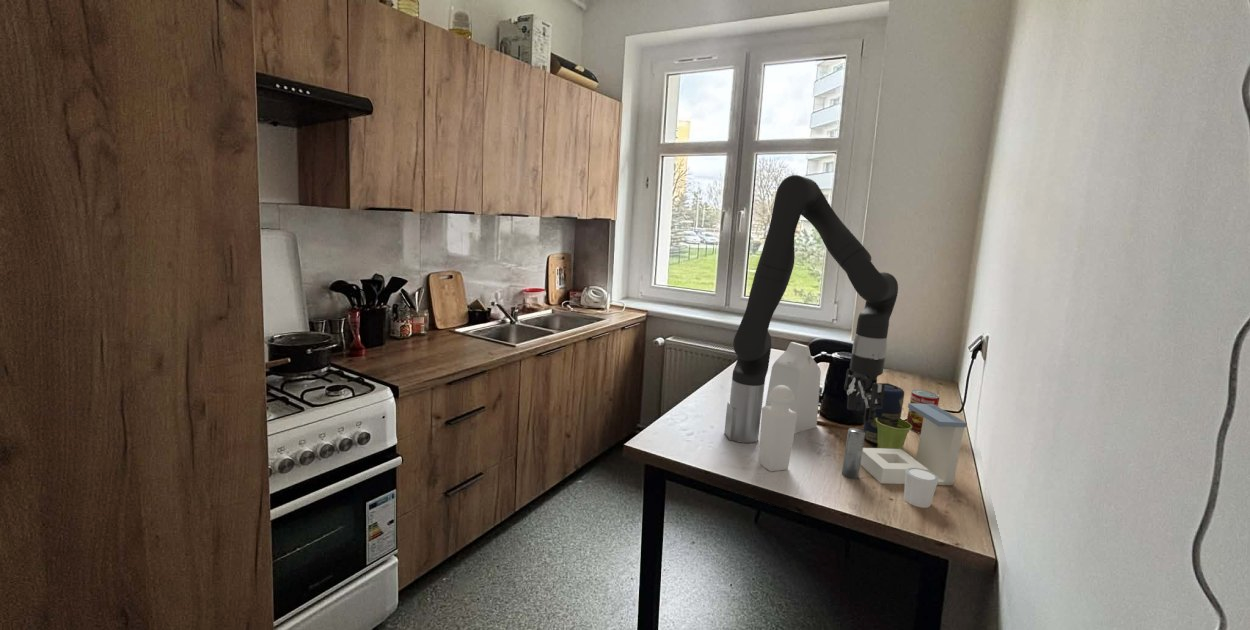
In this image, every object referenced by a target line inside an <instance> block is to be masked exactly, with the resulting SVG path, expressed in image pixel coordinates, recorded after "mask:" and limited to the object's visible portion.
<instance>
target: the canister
mask: <svg viewBox="0 0 1250 630" xmlns="http://www.w3.org/2000/svg"><path fill="white" fill-rule="evenodd" d="M877 383H878V384H884V385H885V389H884V398H883V406H882V409H876V410H875V416H874V421H873V423H866V422H864V421H863V429H862V430H863V431H864V432H865V439H866V440H867V441H869V442H872V443H874V444H877V445H878V427H877V422H876V418H877V417H878V422H880V423H881V424H884V425H886V426H890V427H894V428H896V427H897V424H898V420H899V419H901V417H902V411H903V405H904V397H905V391H904V390H903V388H901V387H899V386H897V385H894V384H891V383H888V382H884V383H883V382H877ZM870 395H871V394H870ZM878 400H879V399H877V403H878ZM870 401H871V399H869V402H870Z"/></svg>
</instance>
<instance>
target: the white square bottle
mask: <svg viewBox="0 0 1250 630" xmlns="http://www.w3.org/2000/svg"><path fill="white" fill-rule="evenodd" d="M769 398H770V399H771V403H772V406H765V405H764V406H762V410H761V419H760V429H759V445H758V458H757V459H758V460H757V462H758V463H759V464H760V465H761V466H763V467H764V468H765V469H766V470H768V471H769V472H778V471H785V470H786V471H787V470H789V467H790V466H789V465H790V460H791V455H792V448H793V444H794V439H795V438H794V437H795V434H796V433H795V427H796V422H797V413H796V412H794V411H792V410H790V409H789V406H790V404H791V403H792V402H793V401H794V398H793V394H792V391H791V390H790V388H788V387H787V386H785V385H778V386H776V387H774V388H773V389H772V391H771V393H770V395H769Z"/></svg>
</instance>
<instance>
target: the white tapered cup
mask: <svg viewBox="0 0 1250 630" xmlns="http://www.w3.org/2000/svg"><path fill="white" fill-rule="evenodd" d="M937 483H938V477H937V475H935V474H934V473H932V472H930V471H927V470H924V469H920V468H907V469H906V473H905V484H904V490H903V491H904V492H903V500H904V501H905V502H907V503H908V504H910V505H911V506H914V507H918V508H922V509H925V508H930V507H931V505H932V502H933V498H934V496H935V495H934V494H935V492H936V489H937V486H938V485H937Z"/></svg>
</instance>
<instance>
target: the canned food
mask: <svg viewBox="0 0 1250 630" xmlns="http://www.w3.org/2000/svg"><path fill="white" fill-rule="evenodd" d="M939 402H940V395H939V394H938V393H936V392H932V391H929V390H924V389H912V390H911V393H910V399H909V403H916V404H934V405H936V406H937V407H939ZM923 418H924V417H923V416H921V415H919V414H918V413H916V412H915V411H913V410H911V409H910V408H908V411H907V417H906V420H905V421H906V422H908V423H910V424H911V425H912V428H911V429H910V430H909V431H912V432H914V433H915V432H916V433H918V432H919V434H921V429H922V424H923Z"/></svg>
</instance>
